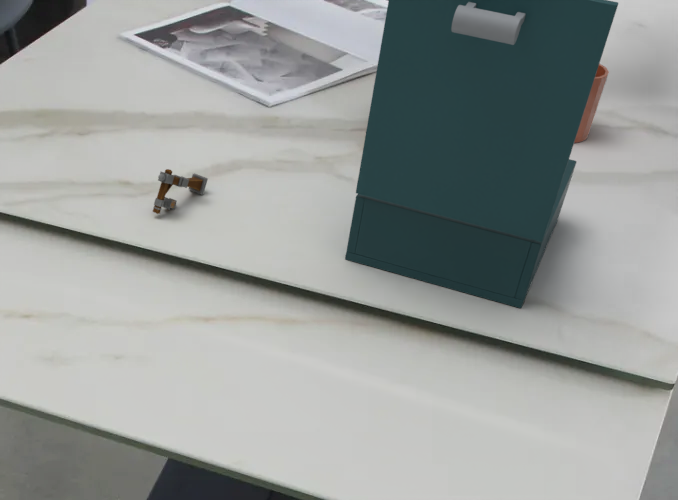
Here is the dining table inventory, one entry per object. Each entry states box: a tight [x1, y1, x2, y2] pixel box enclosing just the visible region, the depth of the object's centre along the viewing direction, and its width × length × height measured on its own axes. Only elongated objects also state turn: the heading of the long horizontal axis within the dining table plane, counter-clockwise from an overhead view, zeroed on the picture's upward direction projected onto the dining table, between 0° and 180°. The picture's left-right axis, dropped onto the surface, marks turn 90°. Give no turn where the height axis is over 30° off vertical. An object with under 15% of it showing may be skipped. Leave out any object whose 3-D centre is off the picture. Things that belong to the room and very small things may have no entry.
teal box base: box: [344, 158, 577, 309], centre depth 105 cm, size 20×18×7 cm
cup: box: [574, 62, 610, 144], centre depth 127 cm, size 7×7×8 cm
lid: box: [355, 0, 619, 242], centre depth 87 cm, size 21×18×5 cm
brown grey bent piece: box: [152, 168, 209, 215], centre depth 108 cm, size 2×8×4 cm, turn 145°
